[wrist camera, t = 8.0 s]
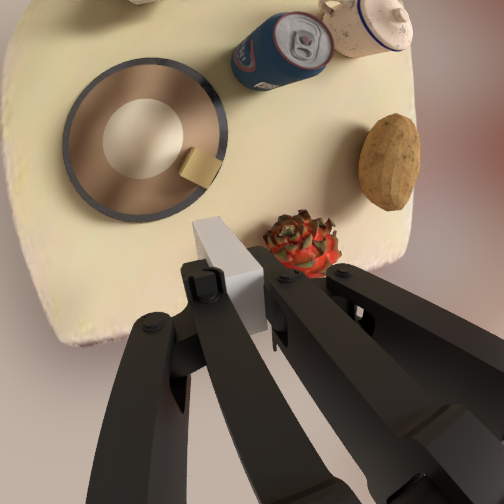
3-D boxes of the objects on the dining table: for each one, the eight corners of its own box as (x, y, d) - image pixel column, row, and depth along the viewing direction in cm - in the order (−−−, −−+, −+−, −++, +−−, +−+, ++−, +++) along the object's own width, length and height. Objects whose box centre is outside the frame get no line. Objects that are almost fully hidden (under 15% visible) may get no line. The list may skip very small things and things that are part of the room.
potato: (399, 124, 38) (437, 128, 31) (381, 205, 42) (417, 220, 36) (355, 103, 34) (396, 101, 27) (336, 195, 39) (373, 210, 32)
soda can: (232, 36, 26) (272, -4, 15) (285, 48, 28) (342, 21, 18) (224, 87, 28) (262, 63, 18) (279, 97, 31) (337, 85, 20)
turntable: (52, 177, 25) (36, 185, 20) (120, 48, 22) (115, 33, 17) (173, 231, 32) (177, 247, 28) (241, 110, 29) (256, 106, 25)
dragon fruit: (248, 214, 37) (311, 235, 44) (245, 278, 35) (311, 289, 42) (294, 191, 31) (355, 221, 37) (294, 267, 28) (359, 282, 35)
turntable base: (56, 83, 21) (54, 82, 21) (217, 49, 26) (218, 47, 26) (84, 237, 29) (83, 239, 29) (235, 201, 34) (237, 202, 34)
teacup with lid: (373, 25, 30) (429, 11, 19) (364, 70, 32) (426, 62, 22) (307, -12, 25) (358, -44, 15) (294, 33, 28) (349, 5, 18)
